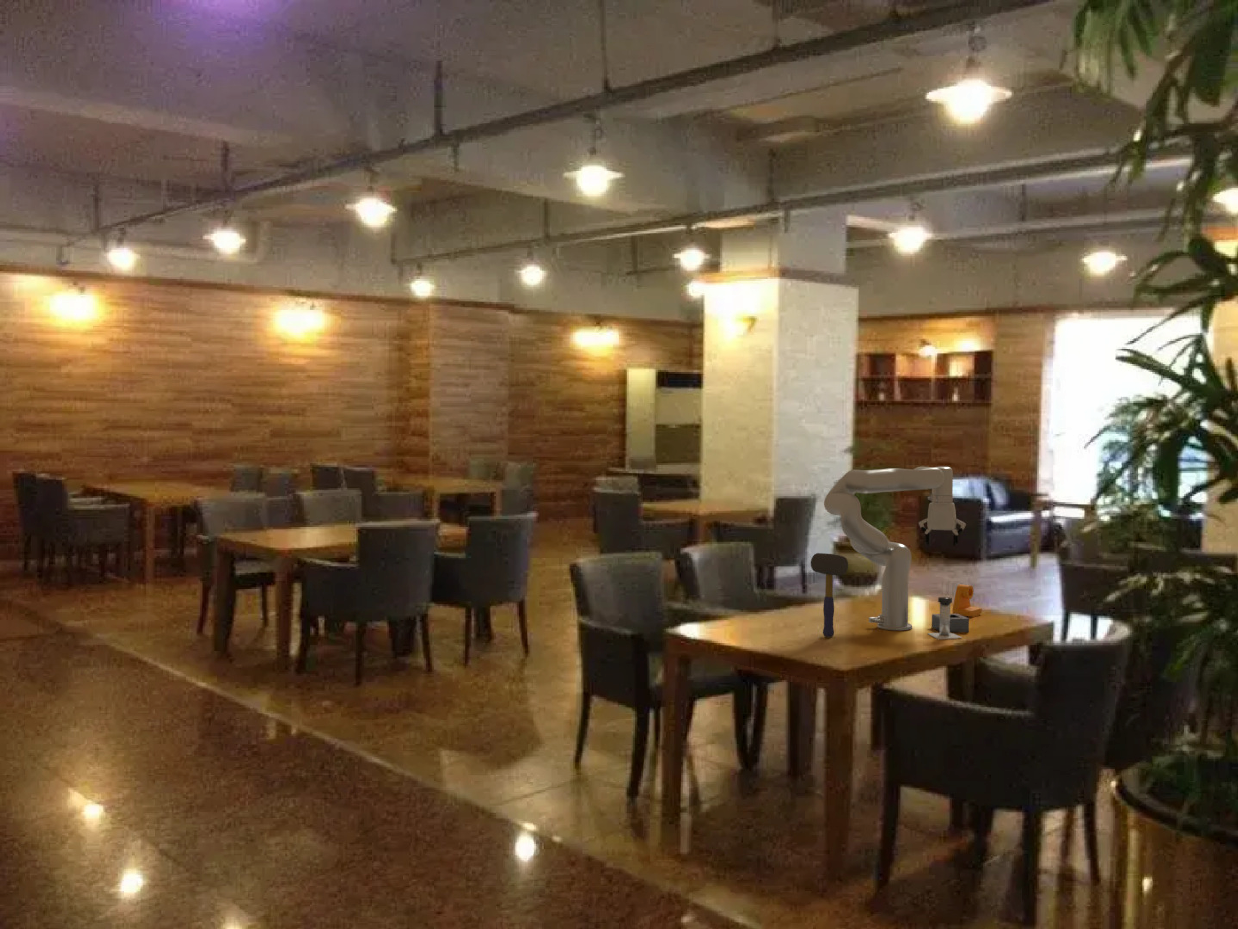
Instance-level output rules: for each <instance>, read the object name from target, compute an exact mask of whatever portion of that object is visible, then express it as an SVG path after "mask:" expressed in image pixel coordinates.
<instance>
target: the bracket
mask: <svg viewBox="0 0 1238 929" xmlns="http://www.w3.org/2000/svg"><path fill="white" fill-rule="evenodd" d="M973 597H974V586H973V585H970V584H963V583H962V584H961V583H959V584H957V586H956V590H955V596H954V598H953V604H952V614H960V615H962V616H964V617H967V616H968V617H967V618H975V616H976V617H978V615H979V616H980V615H981V614H982V612H983V611H982V607H978V606H971V602H970V600H971V599H972V598H973Z"/></svg>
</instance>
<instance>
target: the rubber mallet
mask: <svg viewBox="0 0 1238 929" xmlns="http://www.w3.org/2000/svg"><path fill="white" fill-rule="evenodd" d="M810 567H811V569H812V571H814V573H819V574H823V575H825V591H824V592H825V595H824V599H823V612H822V613H823V630H822V634H823V636H824V638H826V637H827V639H831V638H833V637H834V635H835V629H834V615H835V600H834V597H833V596H834V593H833V592H834V588H833V587H834V582H833V581H834V580H833V579H834V576H840V577H841V576H844V575H846V573H847V571H848V568H849V562H848V559H847V557H846V556H843V555H839V554H834V553H833V554H832V553H822V552H817V553H814V555H812V557H811V560H810Z"/></svg>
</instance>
